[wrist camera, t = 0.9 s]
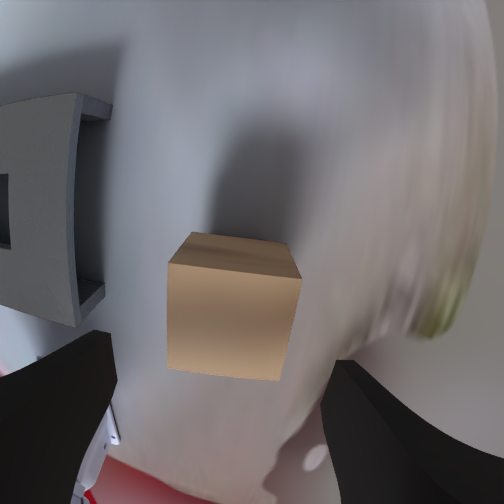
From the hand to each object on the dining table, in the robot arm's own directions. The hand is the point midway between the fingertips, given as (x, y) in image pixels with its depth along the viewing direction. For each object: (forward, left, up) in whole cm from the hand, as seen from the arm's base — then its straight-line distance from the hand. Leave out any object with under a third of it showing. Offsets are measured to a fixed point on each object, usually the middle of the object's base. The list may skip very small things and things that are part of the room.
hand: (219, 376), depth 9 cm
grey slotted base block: (+3, +19, -10) cm, 22 cm away
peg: (0, 0, -10) cm, 10 cm away
